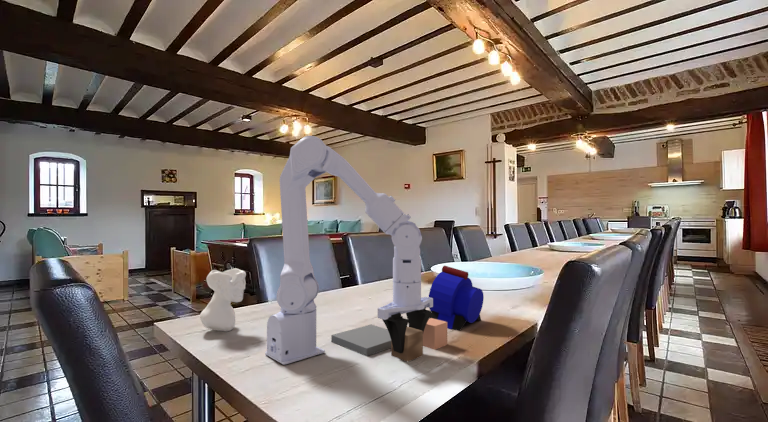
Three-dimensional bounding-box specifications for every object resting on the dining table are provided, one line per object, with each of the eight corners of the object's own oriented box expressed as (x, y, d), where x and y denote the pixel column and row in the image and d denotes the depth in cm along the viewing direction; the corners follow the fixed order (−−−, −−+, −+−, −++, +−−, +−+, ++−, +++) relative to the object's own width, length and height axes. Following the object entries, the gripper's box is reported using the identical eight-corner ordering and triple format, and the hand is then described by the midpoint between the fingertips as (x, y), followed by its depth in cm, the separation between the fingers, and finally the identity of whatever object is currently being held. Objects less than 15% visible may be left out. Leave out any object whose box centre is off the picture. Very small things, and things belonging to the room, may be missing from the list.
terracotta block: (434, 350, 77) (434, 326, 77) (418, 344, 80) (418, 321, 80) (447, 344, 80) (447, 321, 80) (431, 340, 83) (431, 318, 83)
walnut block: (407, 361, 70) (407, 335, 70) (391, 355, 73) (391, 330, 74) (422, 355, 73) (422, 330, 73) (406, 350, 76) (406, 326, 77)
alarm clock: (448, 314, 105) (448, 262, 106) (488, 322, 98) (488, 266, 98) (425, 324, 96) (425, 267, 96) (468, 333, 88) (467, 271, 89)
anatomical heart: (220, 323, 96) (220, 266, 97) (257, 327, 93) (257, 268, 93) (191, 334, 87) (192, 271, 87) (231, 338, 84) (231, 273, 84)
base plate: (366, 356, 73) (366, 348, 73) (331, 341, 82) (331, 335, 82) (406, 342, 81) (406, 335, 81) (371, 330, 90) (371, 324, 90)
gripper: (396, 288, 66) (396, 364, 65) (444, 279, 76) (444, 344, 76) (370, 283, 71) (370, 353, 71) (418, 275, 81) (418, 336, 81)
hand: (407, 348), depth 73 cm, fingers closed on walnut block, 4 cm apart
